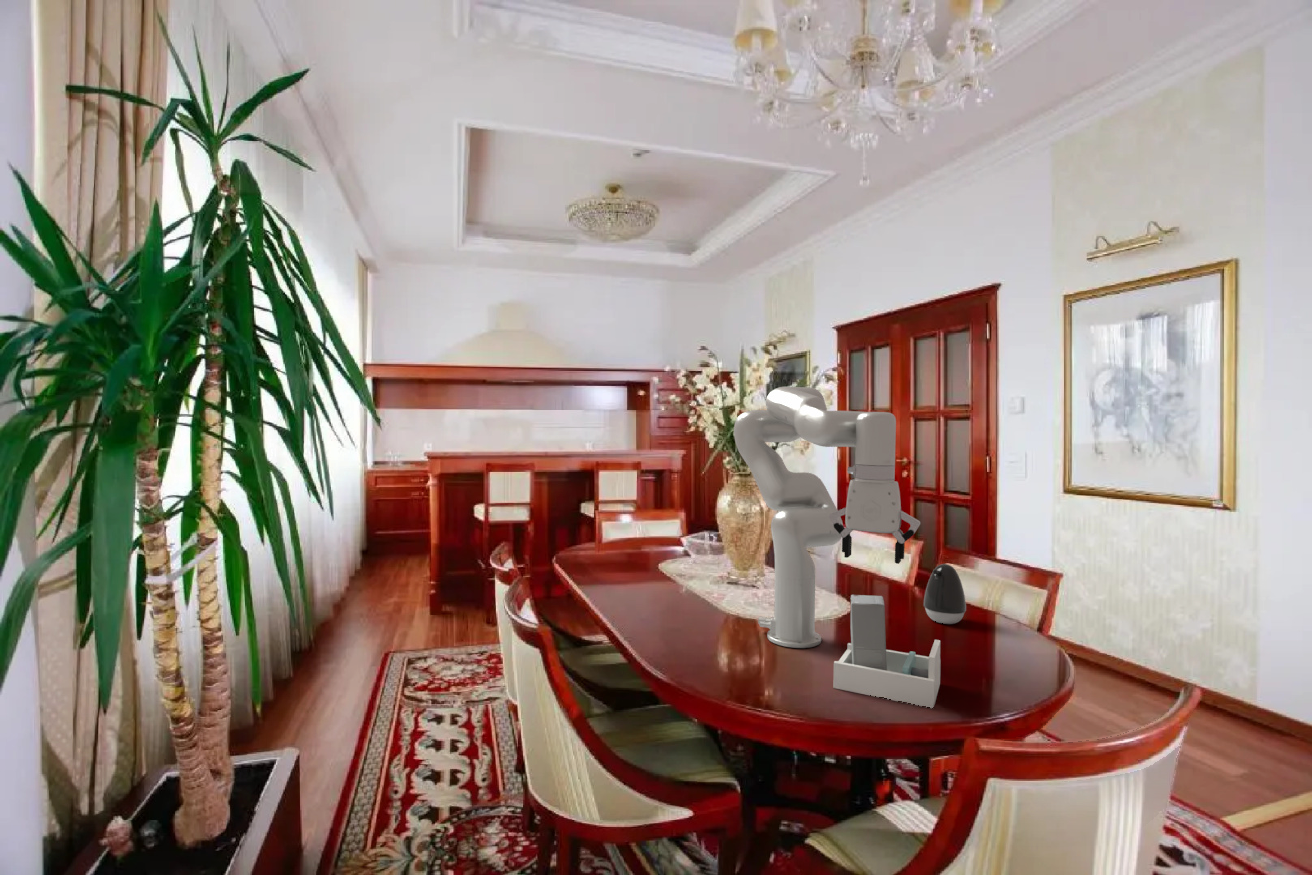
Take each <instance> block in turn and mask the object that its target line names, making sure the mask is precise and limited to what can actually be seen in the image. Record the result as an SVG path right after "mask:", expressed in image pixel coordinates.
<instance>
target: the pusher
mask: <svg viewBox="0 0 1312 875" xmlns="http://www.w3.org/2000/svg"><path fill="white" fill-rule="evenodd" d="M908 653H909V655H908V657H907V659H906V661H905V664H904V666H903V674H907V675H913V676H918V677H923V678H928V671H929V670H927V669H921V668H916V667H915V655H916V651H911V650H910V651H909V652H908Z"/></svg>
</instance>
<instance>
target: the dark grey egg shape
mask: <svg viewBox="0 0 1312 875" xmlns="http://www.w3.org/2000/svg"><path fill="white" fill-rule="evenodd" d="M963 587H964V586H963V584H962V581H961V578H960V575H959V574H958V571H956V569H955V567H953V566H952V565H950V564H947V563H946V564H945V563H942V564H938V565H937V566H935V568H934V569H933V570H932V573H931V574H930V576H929V579H928V582H927V584H926V588H925V592H924V598H923V607H924V609H925V613H926V614H927V616H928V617H929V618H930V619H931V620H932V621H934V622H935V621H936V623H938V624H942V623H943V625H954V624H958V623H959V622H960V621H961V620H962V619H963V617H964V615H965V613H966V611H967V602H966V597H965V591H964V588H963Z"/></svg>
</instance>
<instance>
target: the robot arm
mask: <svg viewBox="0 0 1312 875" xmlns="http://www.w3.org/2000/svg"><path fill="white" fill-rule="evenodd" d="M765 407H766V409H753V410H748V411H745V412H742V413H740V415H738V416H737V417H736V418H735V422H734V428H733V435H734V436H733V437H734V442H735V446H736V448H737V451H738V452H739V455H740V456H741V458H742V459H743V461H744V462H745V463H746V465H747V467H748V468H749V470H750V472H751V474H752V476H753V477H752V478H753V479H754V480H755V483H756V486H757V487H758V489H759V493H760V494H761V496H762V499H763V501H764V502H765V505H766V506H767V507H768V509H771V510H773V511H778V512H776V513H775V514H774V515H773V516H772V519H771V524H770V531H771V537H772V543H773V552H774V605H773V606H774V609H773V610H774V616H772V617H771V618H769V617H766V616H758V619H757V623H758V625H759V627H761V628H768V629H769V630H768V631H767V634H766V635H767V639H768V640H769V642H771V643H773V644H775V645H778V646H782V647H784V648H785V647H786V648H793V649H806V648H809V649H810V648H814V647H817V646H819V645H820V644H821V642H822V636H821V634H820V633H818V632H816V631H815V628H816V627H815V624H816V618H815V617H816V615H815V614H816V567H815V566H816V565H815V561H814V560H813V558H812V557H811V555H810V553H809V552H808V548H809V549H810V548H818V547H826V546H827V547H829V546H833V545H836V544H837V543H839V542H840V541H841V552H842V553H843V554H844V556H843V557H844V558H845V559H847V558H849V557H850V556H852V544H853V543H852V542H853V541H852V538H853V537H852V535H851V533H852V532H853V531H858V532H860V531H861V532H869V533H870V532H871V533H878V534H891V535H892V536H893V537H894V538H895V540H896V542H895V544H894V563H895V564H900V562H902V560H905V548H906V547H905V543H906V542H907V541H908V540H910V538H912V537H913V536H914V534H915V533H916V532H917V530H918V529H919V527H920V525H921V521H920V520H918V519H917V518H915V517H914V516H911V515H909V514H908V513H907V512H904V511H903V510H902V506H901V504H902V503H901V502H902V501H901V491H900V486H899V482H898V481H897V480H896V479H895V474H896V473H895V472H896V471H895V469H896V442H897V441H896V437H897V436H896V434H897V432H896V431H897V430H896V429H897V419H896V416H895V415H894V414H893V413H891V412H888V411H887V412H886V411H860V410H859V411H856V410H855V411H853V410H828V409H827V405H826V402H825V398H824V396H823V394H822V392H820V390H818V389H816V388H814V387H810V386H809V387H803V386H779V387H777V388H774V389H772V390H771V391H770V392H769V393H768V395H767V396H766V399H765ZM800 438H801V439H802V440H805V441H807V442H809V443H810V444H811V443H812V444H813V445H816V446H820V447H824V448H830V447H831V448H839V447H840V448H842V447H843V448H846V447H847V448H854V449H855V450H854V451H855V453H854V454H855V455H854V456H855V457H854V465H852V466H847V470H846V472H847V474H851V475H853V477H854V479H850V481H849V484H848V490H847V498H846V505H845V507H843V508H842V509H841V508H840V509H837V506H836V504H835V502H834V501H833V499H832V497H831V495H830V493H829V491H828V489H827V487H826V486H825V484H824V482H823V481H822V479H821V478H819V477H818V475H816V474H814V473H812V472H805V471H804V472H794V471H790V470H789V469H788V468H787V466H786V465H785V462H784V461H783V458H782V457H781V455H780V454H779V453H778V452H777V451H776V450H774V448H772V447H771V446H769V445H768V444H767V443H790V442H791V443H792V442H795V441H796V440H798V439H800ZM895 480H896V481H895ZM842 516H845V520H844V523H845V527H844V524H843V520H842V518H841V517H842ZM902 520H903V521H904V522H906V523H908V524H909V525H910V527H909V528H908V530H907V531H906V532H904V533H903V531H902V530H901V529H900V528H901V525H902Z"/></svg>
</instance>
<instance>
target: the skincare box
mask: <svg viewBox="0 0 1312 875" xmlns="http://www.w3.org/2000/svg"><path fill="white" fill-rule="evenodd" d="M849 599H850V643H851V647H852V664H854V665H859V666H865V667H870V668H875V669H881V670H886V671H887V660H886V650H887V645H886V644H887V642H886V641H887V640H886V638H887V637H886V616H885V615H886V614H885V613H886V612H885V609H886V608H885V605H886V604H885V601H884V597H883V595H867V594H866V595H865V594H862V595H861V594H851V595H850V598H849Z"/></svg>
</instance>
